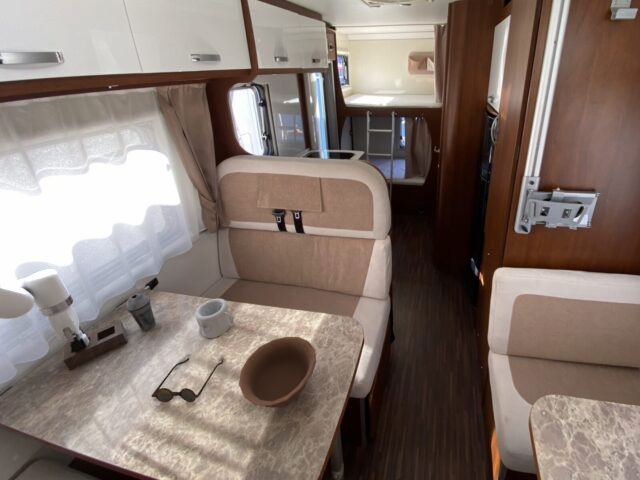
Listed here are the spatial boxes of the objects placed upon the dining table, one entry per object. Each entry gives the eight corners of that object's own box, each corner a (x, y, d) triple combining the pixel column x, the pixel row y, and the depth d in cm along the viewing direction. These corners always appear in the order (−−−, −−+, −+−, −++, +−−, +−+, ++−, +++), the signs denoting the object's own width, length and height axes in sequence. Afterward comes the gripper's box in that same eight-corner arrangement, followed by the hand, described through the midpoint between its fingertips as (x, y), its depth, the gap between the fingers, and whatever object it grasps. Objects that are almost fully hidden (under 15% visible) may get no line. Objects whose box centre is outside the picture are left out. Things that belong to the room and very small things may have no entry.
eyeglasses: (154, 402, 92) (148, 391, 90) (186, 358, 105) (181, 348, 103) (200, 403, 91) (195, 392, 89) (226, 359, 104) (222, 348, 103)
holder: (69, 370, 103) (63, 360, 101) (70, 354, 109) (64, 344, 107) (127, 342, 113) (122, 332, 111) (125, 329, 119) (120, 319, 117)
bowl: (296, 439, 81) (289, 413, 76) (230, 416, 87) (220, 391, 83) (332, 366, 100) (328, 342, 96) (276, 351, 106) (270, 328, 102)
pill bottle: (72, 353, 107) (62, 337, 104) (87, 343, 110) (78, 327, 107) (80, 356, 105) (70, 340, 102) (94, 346, 109) (85, 330, 106)
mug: (195, 336, 114) (187, 316, 110) (215, 315, 124) (209, 296, 120) (226, 342, 111) (219, 321, 107) (244, 319, 121) (238, 300, 117)
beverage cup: (133, 331, 118) (113, 290, 110) (152, 317, 124) (134, 278, 116) (145, 336, 115) (125, 295, 108) (164, 322, 121) (146, 282, 114)
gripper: (42, 298, 103) (66, 337, 110) (38, 325, 92) (65, 366, 99) (72, 287, 108) (93, 325, 115) (71, 312, 96) (95, 352, 103)
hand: (80, 344), depth 107 cm, fingers closed on pill bottle, 4 cm apart
